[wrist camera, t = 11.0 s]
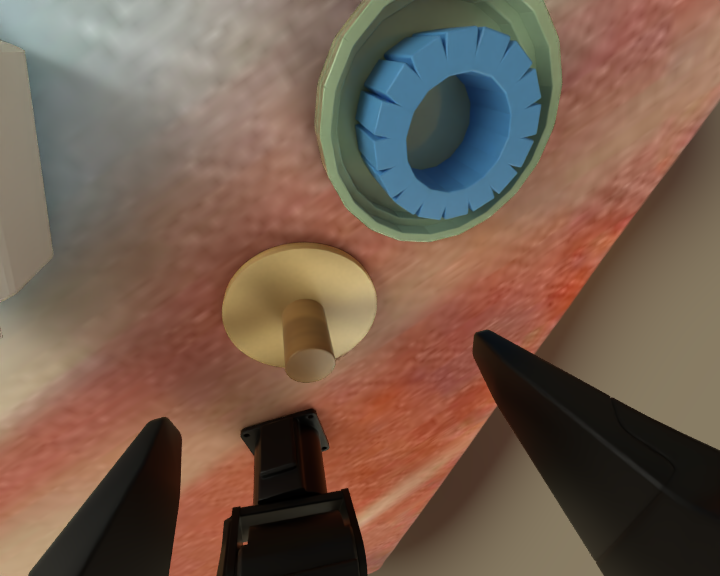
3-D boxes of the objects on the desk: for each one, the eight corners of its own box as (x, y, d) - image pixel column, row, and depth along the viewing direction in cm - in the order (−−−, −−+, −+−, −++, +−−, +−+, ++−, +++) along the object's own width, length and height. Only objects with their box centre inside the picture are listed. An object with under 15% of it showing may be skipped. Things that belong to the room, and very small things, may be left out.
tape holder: (381, 339, 26) (403, 394, 22) (254, 374, 25) (252, 438, 21) (363, 224, 20) (388, 270, 16) (195, 265, 19) (175, 325, 15)
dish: (511, 198, 21) (537, 215, 19) (338, 241, 20) (346, 263, 18) (545, -51, 14) (591, -67, 12) (285, -5, 13) (288, -14, 11)
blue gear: (488, 177, 20) (526, 200, 17) (366, 206, 19) (384, 235, 16) (502, 16, 15) (557, 9, 12) (343, 47, 14) (362, 48, 12)
